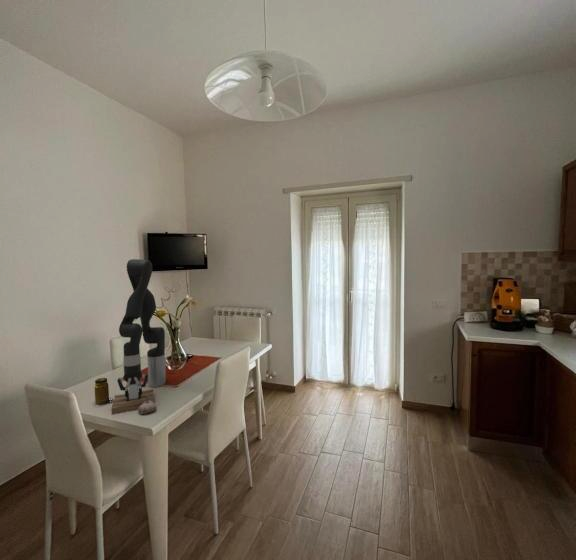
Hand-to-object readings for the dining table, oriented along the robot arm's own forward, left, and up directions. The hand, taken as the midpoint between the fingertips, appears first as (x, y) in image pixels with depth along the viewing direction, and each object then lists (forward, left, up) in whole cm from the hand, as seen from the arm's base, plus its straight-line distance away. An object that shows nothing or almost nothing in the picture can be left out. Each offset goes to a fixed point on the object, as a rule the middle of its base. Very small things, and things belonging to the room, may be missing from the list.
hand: (133, 396), depth 154 cm
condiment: (-9, -14, -4) cm, 17 cm away
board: (0, 0, -4) cm, 4 cm away
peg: (0, 0, -3) cm, 3 cm away
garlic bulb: (+12, +6, -4) cm, 14 cm away
